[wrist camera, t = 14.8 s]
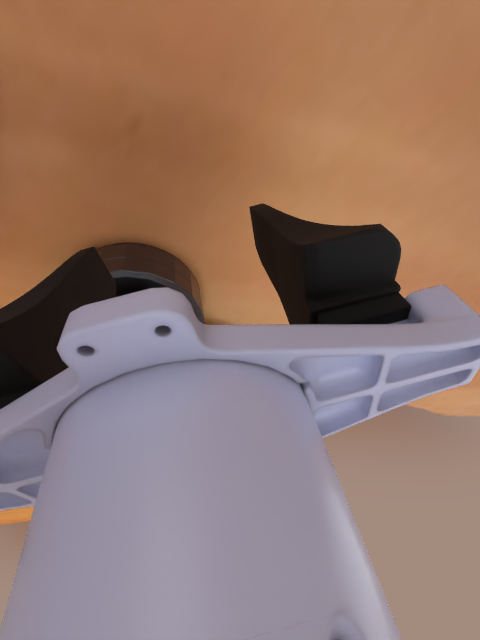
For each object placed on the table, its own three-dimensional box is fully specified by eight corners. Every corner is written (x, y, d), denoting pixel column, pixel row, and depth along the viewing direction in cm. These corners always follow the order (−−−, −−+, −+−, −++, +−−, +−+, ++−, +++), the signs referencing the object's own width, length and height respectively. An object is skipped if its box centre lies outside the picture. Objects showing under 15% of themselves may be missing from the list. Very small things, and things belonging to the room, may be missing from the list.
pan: (52, 323, 27) (39, 356, 24) (87, 217, 21) (75, 244, 19) (169, 353, 33) (170, 383, 30) (222, 275, 27) (229, 303, 24)
